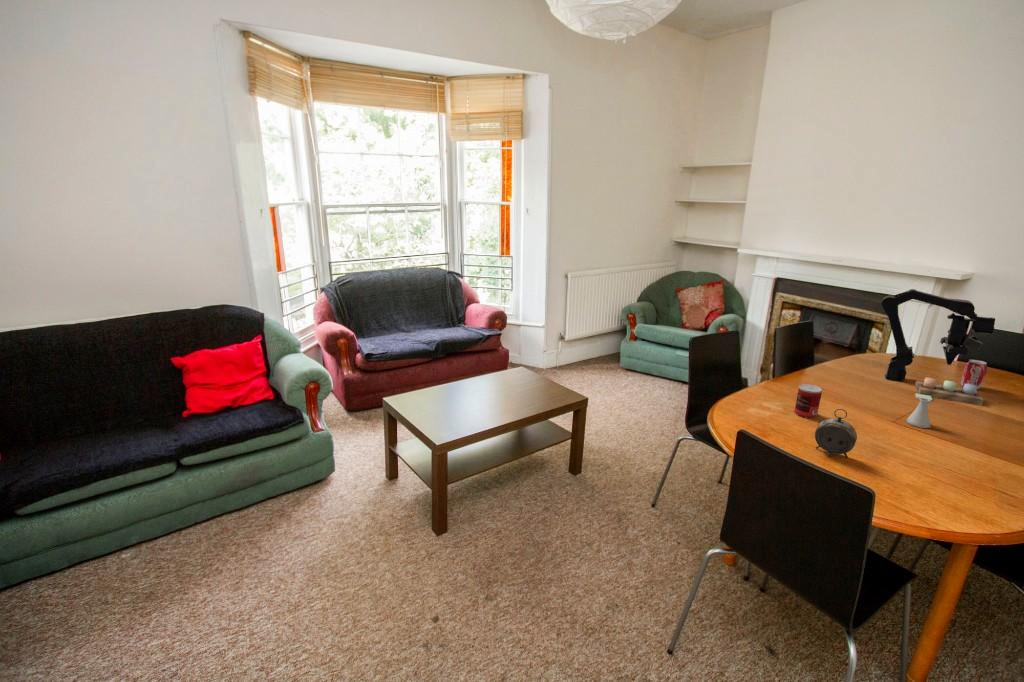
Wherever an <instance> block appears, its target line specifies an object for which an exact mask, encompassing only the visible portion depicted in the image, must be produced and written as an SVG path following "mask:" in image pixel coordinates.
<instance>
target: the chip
mask: <svg viewBox="0 0 1024 682" xmlns="http://www.w3.org/2000/svg"><path fill="white" fill-rule="evenodd" d="M914 396H915V398H916V399H917V400H920V399H919V398H926V399H929V400H930V402H933V397H931V396H929V395H923V394H919V393H918V392H916V393H915V394H914Z"/></svg>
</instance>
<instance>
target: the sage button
mask: <svg viewBox="0 0 1024 682" xmlns="http://www.w3.org/2000/svg"><path fill="white" fill-rule="evenodd" d="M942 385H943V388H942V390H943V391H949V392H955V388H956V387H957V385H958V384H957V382H956V381H952V380H944V382H943V384H942Z"/></svg>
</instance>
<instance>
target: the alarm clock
mask: <svg viewBox="0 0 1024 682" xmlns="http://www.w3.org/2000/svg"><path fill="white" fill-rule="evenodd" d="M837 411H843V412H845V416H844V417H841V416H837V415H836V413H837ZM834 416H835V418H833V417H832V418H826V419H824V420H822V421H820V422H819V423H818V425H817V427H816V430H815V432H814V439H815V441H816V443H817V446H816V447H815V449H816V450H817V449H818V448H821V449H822V450H823V451H825V452H827V453H828V457H829V458H830V457H832V455H844V456H845V458H846V459H848V458H849V456H848V454H847V453H849V452H851V451H852V450H853V449H854V447H855V445H856V444H857V443H856V442H857V440H858V436H857V431H856V429H855V428H854V426H853V425H851V424H850V423H849V422H848V421H846V420H844V419H846V418H847V416H848V412H847V411H846V410H845V409H844V408H837V409H835V411H834Z"/></svg>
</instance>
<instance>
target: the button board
mask: <svg viewBox="0 0 1024 682" xmlns="http://www.w3.org/2000/svg"><path fill="white" fill-rule="evenodd" d="M923 383H924V381H919V380H916V381H915V385H914V387H915V389H916V391H917V394H923V395H929V396H931V398H933V399H934V398H935V399H942V400H946V401H947V400H948V401H953V402H959V403H965V404H971V405H975V406H977V405H978V406H983V405H984V404H983V402H984V398H983V397H982V396H981V395H980V393H979V392H978V391H977V390H976V393H975V396H974V395H967V394H963V393H962V391H963V387H957V386H956V388H955V392H949V391H943V390H942V388H943V384H940V383H936V386H935V389H930V388H924V387H923Z"/></svg>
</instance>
